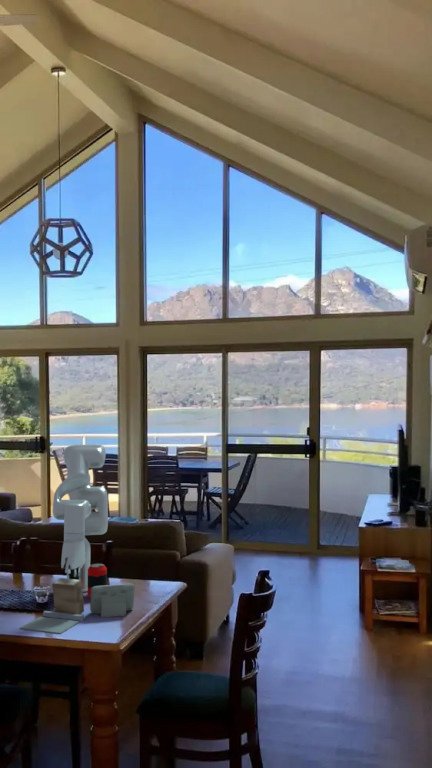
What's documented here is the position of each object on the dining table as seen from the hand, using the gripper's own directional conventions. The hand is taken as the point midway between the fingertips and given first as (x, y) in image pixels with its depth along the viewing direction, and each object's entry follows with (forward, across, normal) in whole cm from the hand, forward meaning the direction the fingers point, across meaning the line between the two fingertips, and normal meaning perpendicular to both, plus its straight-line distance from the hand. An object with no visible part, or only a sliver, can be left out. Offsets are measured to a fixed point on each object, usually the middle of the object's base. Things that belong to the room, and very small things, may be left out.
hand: (74, 586), depth 240 cm
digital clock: (+10, -4, +14) cm, 17 cm away
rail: (+9, +7, 0) cm, 12 cm away
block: (+9, +3, 0) cm, 9 cm away
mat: (+9, +16, 0) cm, 18 cm away
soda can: (+9, -22, -2) cm, 24 cm away
